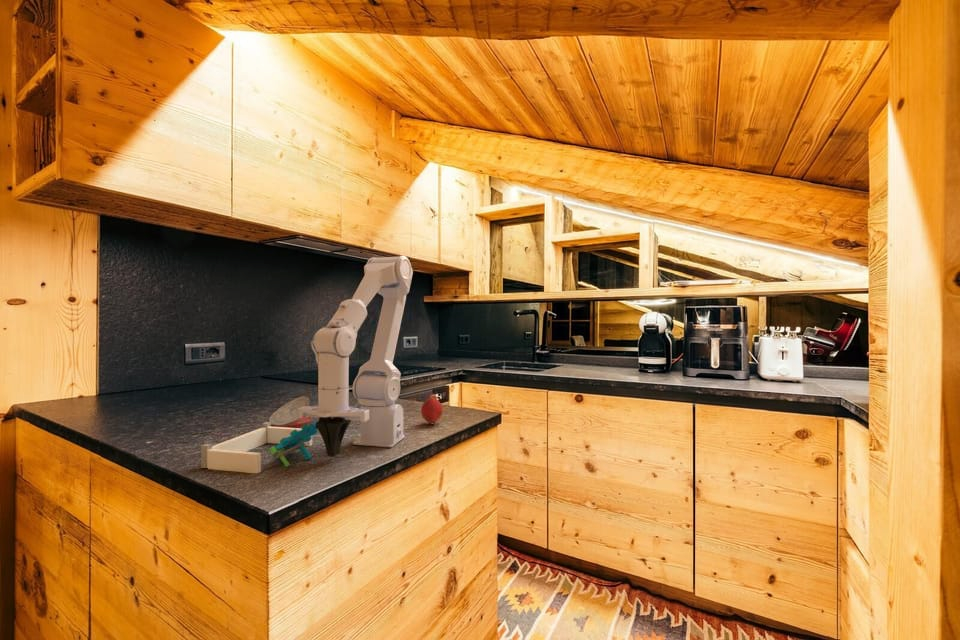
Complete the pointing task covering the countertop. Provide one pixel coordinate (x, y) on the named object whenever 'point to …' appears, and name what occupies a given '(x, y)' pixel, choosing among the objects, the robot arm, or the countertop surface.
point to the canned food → (290, 414)
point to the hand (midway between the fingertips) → (333, 454)
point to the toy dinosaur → (294, 443)
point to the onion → (432, 409)
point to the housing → (243, 449)
